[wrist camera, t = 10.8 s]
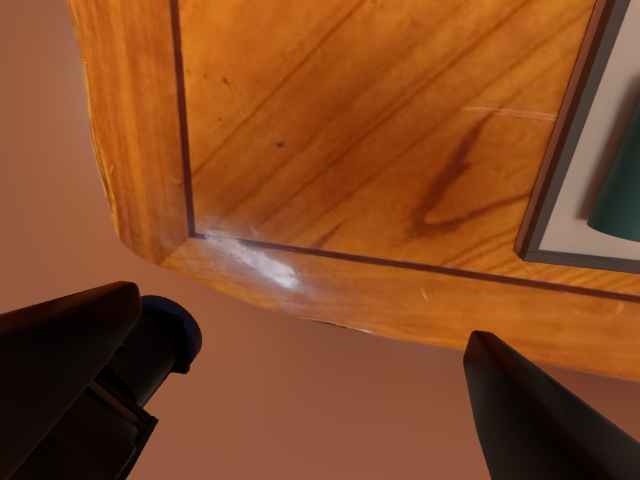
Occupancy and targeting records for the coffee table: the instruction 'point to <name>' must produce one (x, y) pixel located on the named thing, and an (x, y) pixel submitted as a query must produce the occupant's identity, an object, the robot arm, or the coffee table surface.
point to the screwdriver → (621, 188)
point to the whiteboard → (587, 148)
